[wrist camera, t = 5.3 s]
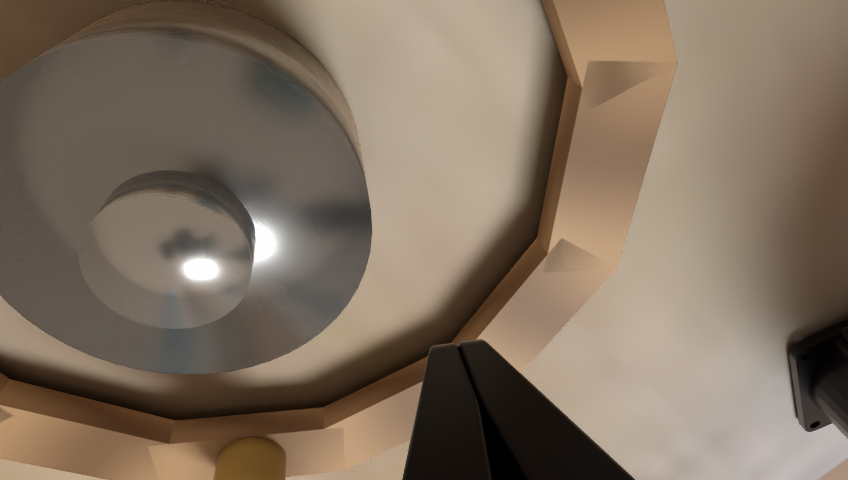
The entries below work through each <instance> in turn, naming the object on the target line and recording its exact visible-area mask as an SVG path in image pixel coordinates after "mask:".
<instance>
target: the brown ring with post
mask: <svg viewBox="0 0 848 480" xmlns="http://www.w3.org/2000/svg"><path fill="white" fill-rule="evenodd" d="M541 1H542V4H543V7H544V10H545V13H546V15H547V18H548V21H549V24H550V27H551V30H552V33H553V36H554V38H555V41H556V44H557V47H558V50H559V53H560V56H561V59H562V61H563V64H564V67H565V70H566V73H567V76H568V79H567V84H566V89H565V95H564V100H563V105H562V110H561V115H560V121H559V126H558V131H557V136H556V141H555V146H554V152H553V157H552V162H551V167H550V172H549V178H548V183H547V188H546V193H545V198H544V203H543V209H542V214H541V219H540V224H539V229H538V235H537V238H536V239H535V241H534V242H533V243H532V244H531V245H530V247H529V248H528V249H527V250H526V252H525V253H524V254H523V255H522V256H521V258H520V259H519V260H518V261H517V263H516V264H515V265H514V266H513V267H512V269H511V270H510V271H509V272H508V274H507V275H506V276H505V277H504V278H503V280H502V281H501V282H500V283H499V285H498V286H497V287H496V288H495V289H494V291H493V292H492V293H491V294H490V296H489V297H488V298H487V299H486V300H485V302H484V303H483V304H482V305H481V306H480V308H479V309H478V310H477V311H476V313H475V314H474V315H473V316H472V317H471V319H470V320H469V321H468V322H467V324H466V325H465V326H464V327H463V328H462V330H461V331H460V332H459V333H458V335H457V336H456V337H455V338H454V339H453V341H452V342H451V343H454V344H456V345H458V344H459V343H460V342H463V341H470V340H477V339H482V340H485V341H486V342H487V343H488V344H489V345H491V346H492V347H493V348H494V349H495V350H496V351H497V352H498V353H499V354H500V355H501V356H502V357H504V358H505V359H506V360H507V361H508V362H509V363H510V364H511V365H512V366H513V367H514V368H515V369H516V370H518V371H519V372H520V373H521V372H522V371H523V370H524V369H525V368H526V367H527V366H528V365H529V364H530V363H531V362H532V360H533V359H534V358H535V357H536V356H537V355H538V354H539V353H540V352H541V351H542V350H543V348H544V347H545V346H546V345H547V344H548V343H549V342H550V341H551V340H552V339H553V338H554V336H555V335H556V334H557V333H558V332H559V331H560V330H561V329H562V328H563V327H564V326H565V324H566V323H567V322H568V321H569V320H570V319H571V318H572V317H573V316H574V315H575V314H576V313H577V311H578V310H579V309H580V308H581V307H582V306H583V305H584V304H585V303H586V302H587V301H588V299H589V298H590V297H591V296H592V295H593V294H594V293H595V292H596V291H597V290H598V289H599V287H600V286H601V285H602V284H603V283H604V282H605V281H606V280H607V279H608V278H609V277H610V275H611V274H612V273H613V272H614V271H615V270H616V269H617V267H618V263H619V260H620V257H621V253H622V250H623V246H624V243H625V240H626V236H627V233H628V229H629V226H630V223H631V219H632V216H633V212H634V209H635V206H636V202H637V199H638V196H639V192H640V189H641V185H642V182H643V179H644V175H645V172H646V168H647V165H648V162H649V158H650V155H651V151H652V148H653V145H654V141H655V138H656V134H657V131H658V128H659V124H660V121H661V117H662V114H663V111H664V107H665V104H666V100H667V97H668V94H669V90H670V87H671V83H672V80H673V77H674V73H675V70H676V66H677V63H678V62H677V58H676V54H675V49H674V45H673V40H672V36H671V31H670V27H669V22H668V18H667V13H666V8H665V4H664V0H541ZM427 358H428V356H427V357H425V358H423V359H421V360H419V361H417V362H415V363H413V364H411V365H409V366H407V367H405V368H403V369H401V370H399V371H397V372H395V373H393V374H390V375H388V376H386V377H384V378H382V379H380V380H378V381H376V382H374V383H372V384H370V385H368V386H366V387H364V388H362V389H360V390H358V391H356V392H354V393H352V394H350V395H348V396H346V397H344V398H341V399H339V400H337V401H335V402H333V403H331V404H329V405H327V406H325V407H321V408H310V409H299V410H288V411H277V412H266V413H254V414H243V415H232V416H221V417H210V418H199V419H187V420H176V421H175V420H171V419H167V418H163V417H159V416H155V415H151V414H147V413H143V412H139V411H135V410H131V409H127V408H123V407H119V406H115V405H111V404H107V403H103V402H99V401H95V400H91V399H87V398H83V397H79V396H75V395H71V394H67V393H63V392H59V391H55V390H51V389H47V388H43V387H39V386H35V385H31V384H27V383H23V382H19V381H15V380H11V379H9V378H7V377H6V376H4V375H3V374H1V373H0V458H1V459H6V460H11V461H16V462H21V463H26V464H31V465H36V466H42V467H47V468H52V469H57V470H62V471H67V472H72V473H77V474H82V475H87V476H92V477H97V478H102V479H107V480H285V477H290V476H299V475H309V474H318V473H327V472H336V471H345V470H347V469H349V468H351V467H353V466H355V465H357V464H359V463H361V462H364V461H366V460H368V459H370V458H372V457H374V456H376V455H378V454H381V453H383V452H385V451H387V450H389V449H391V448H393V447H395V446H398V445H400V444H402V443H404V442H406V441H408V440H410V439H411V436H412V431H413V426H414V421H415V416H416V411H417V407H418V402H419V397H420V392H421V387H422V382H423V378H424V373H425V368H426V363H427Z"/></svg>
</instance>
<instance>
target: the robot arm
mask: <svg viewBox="0 0 848 480" xmlns="http://www.w3.org/2000/svg"><path fill="white" fill-rule="evenodd" d="M789 357H790V364H791V371H792V378H793V385H794V392H795V399H796V406H797V413H798V420H799V424H800V425H801V426H802V427H803V428H804V429H805V431H807V432H812V431H815V430H818V429H820V428H822V427H825V426H827V425H829V424H831V423H833V424H834V425H835V426H836V427H837V428H838V429H839V430H840V431H841V432H842V433H843V434H844V435H845V436H846V438H847V439H848V321H846V322H844V323H842V324H840V325H837V326H835V327H833V328H831V329H828V330H826V331H824V332H822V333H820V334H817V335H815V336H813V337H811V338H808V339H806V340H804V341H802V342H800V343H798V344H796V345H795V346H794V347H793V348H792V349H791V350H790V352H789ZM402 480H635V479H634V478H633V477H632V476H631V475H630V474H629V473H628V472H627V471H626V470H624V469H623V468H622V467H621V466H620V465H619V464H618V463H617V462H616V461H615V460H614V459H613V458H611V457H610V456H609V455H608V454H607V453H606V452H605V451H604V450H603V449H602V448H601V447H600V446H599V445H597V444H596V443H595V442H594V441H593V440H592V439H591V438H590V437H589V436H588V435H587V434H586V433H584V432H583V431H582V430H581V429H580V428H579V427H578V426H577V425H576V424H575V423H574V422H573V421H572V420H570V419H569V418H568V417H567V416H566V415H565V414H564V413H563V412H562V411H561V410H560V409H559V408H557V407H556V406H555V405H554V404H553V403H552V402H551V401H550V400H549V399H548V398H547V397H546V396H545V395H543V394H542V393H541V392H540V391H539V390H538V389H537V388H536V387H535V386H534V385H533V384H532V383H530V382H529V381H528V380H527V379H526V378H525V377H524V376H523V375H522V374H521V373H520V372H519V371H518V370H516V369H515V368H514V367H513V366H512V365H511V364H510V363H509V362H508V361H507V360H506V359H505V358H504V357H502V356H501V355H500V354H499V353H498V352H497V351H496V350H495V349H494V348H493V347H492V346H491V345H489V344H488V343H487V342H486V341H485V340H482V339H477V340H470V341H463V342H460V343H459V344H458V345H456V344H454V343H449V344H442V345H435V346H432V347H431V348H430V349H429V353H428V358H427V363H426V368H425V373H424V378H423V382H422V387H421V392H420V397H419V402H418V407H417V411H416V416H415V421H414V426H413V431H412V436H411V441H410V445H409V450H408V455H407V460H406V465H405V470H404V474H403V479H402Z"/></svg>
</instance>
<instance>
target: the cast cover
mask: <svg viewBox="0 0 848 480" xmlns="http://www.w3.org/2000/svg"><path fill="white" fill-rule="evenodd" d="M371 237H372V222H371V209H370V203H369V196H368V190H367V184H366V178H365V172H364V166H363V160H362V154H361V148H360V142H359V137H358V133H357V128H356V124H355V122H354V119H353V116H352V113H351V110H350V108H349V106H348V104H347V102H346V100H345V98H344V96H343V94H342V92H341V90H340V89H339V87H338V86H337V84H336V83H335V82H334V80H333V79H332V77H331V76H330V74H329V73H328V72H327V71H326V70H325V68H324V67H323V66H322V65H321V64H320V63H319V62H318V61H317V59H316V58H315V57H314V56H313V55H312V54H310V53H309V52H308V51H307V50H306V49H305V48H304V47H302V46H301V45H300V44H299V43H298V42H297V41H295V40H294V39H292V38H291V37H289V36H288V35H286V34H285V33H283V32H282V31H280V30H279V29H278V28H276V27H274V26H272V25H270V24H268V23H266V22H264V21H262V20H260V19H258V18H256V17H254V16H251V15H249V14H246V13H243V12H241V11H238V10H235V9H232V8H228V7H224V6H220V5H215V4H211V3H205V2H196V1H186V0H175V1H156V2H150V3H144V4H138V5H134V6H131V7H128V8H125V9H122V10H118V11H115V12H113V13H111V14H109V15H107V16H105V17H103V18H101V19H99V20H97V21H95V22H93V23H91V24H90V25H88V26H87V27H85V28H83V29H82V30H80V31H78V32H77V33H75V34H73V35H72V36H70V37H68V38H67V39H65V40H64V41H62V42H60V43H59V44H57V45H55V46H54V47H52V48H50V49H49V50H47V51H45V52H44V53H42V54H41V55H39V56H37V57H36V58H34V59H32V60H31V61H29V62H27V63H26V64H24V65H22V66H21V67H19V68H18V69H17V70H15V71H14V72H13V73H11V74H10V75H8V76H7V77H6V78H4V79H3V80H2V81H0V295H1V296H2V297H3V298H4V299H5V301H6V302H7V303H8V304H9V305H11V306H12V307H13V308H14V309H15V310H16V311H18V312H19V313H20V314H21V315H22V316H23V317H25V318H26V319H27V320H28V321H30V322H31V323H33V324H34V325H36V326H37V327H39V328H40V329H41V330H43V331H44V332H46V333H47V334H49V335H51V336H52V337H54V338H56V339H58V340H60V341H61V342H63V343H65V344H67V345H69V346H71V347H73V348H75V349H78V350H80V351H82V352H84V353H87V354H89V355H91V356H94V357H97V358H100V359H103V360H106V361H109V362H112V363H115V364H118V365H123V366H127V367H131V368H135V369H139V370H146V371H153V372H159V373H171V374H211V373H220V372H229V371H234V370H239V369H243V368H248V367H252V366H255V365H259V364H262V363H265V362H268V361H271V360H273V359H276V358H278V357H280V356H283V355H285V354H287V353H290V352H291V351H293V350H295V349H297V348H298V347H300V346H302V345H304V344H305V343H307V342H308V341H310V340H311V339H313V338H314V337H315V336H317V335H318V334H319V333H321V332H322V331H323V330H324V329H325V328H326V327H327V326H329V325H330V324H331V323H332V322H333V321H334V320H335V319H336V318H337V317H338V316H339V314H340V313H341V312H342V311H343V309H344V308H345V307H346V306H347V304H348V303H349V302H350V300H351V298H352V297H353V295H354V293H355V292H356V290H357V288H358V286H359V284H360V282H361V279H362V277H363V274H364V272H365V270H366V266H367V262H368V258H369V254H370V248H371Z"/></svg>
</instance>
